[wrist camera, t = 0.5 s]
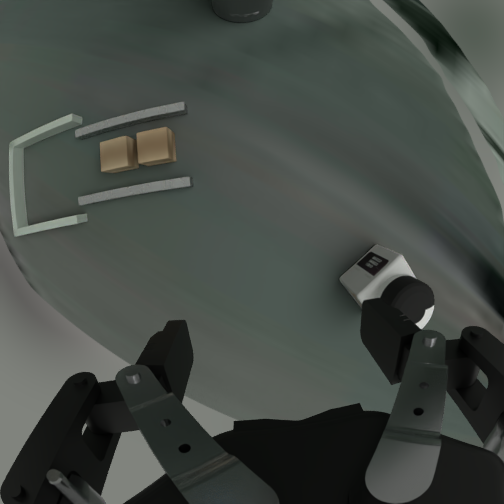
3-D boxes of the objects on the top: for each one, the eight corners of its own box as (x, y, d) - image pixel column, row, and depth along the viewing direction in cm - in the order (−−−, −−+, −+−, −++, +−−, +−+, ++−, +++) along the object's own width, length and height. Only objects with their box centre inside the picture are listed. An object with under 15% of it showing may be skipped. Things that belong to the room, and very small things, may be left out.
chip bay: (20, 144, 33) (9, 142, 30) (82, 117, 33) (72, 113, 30) (25, 234, 36) (14, 236, 33) (87, 221, 36) (77, 223, 33)
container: (337, 278, 39) (374, 314, 26) (376, 242, 38) (426, 264, 25) (364, 313, 40) (403, 355, 27) (400, 279, 39) (449, 310, 26)
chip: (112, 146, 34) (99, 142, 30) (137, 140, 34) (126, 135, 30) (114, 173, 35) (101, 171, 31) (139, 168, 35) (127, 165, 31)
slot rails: (82, 132, 33) (75, 130, 31) (187, 106, 33) (184, 101, 31) (85, 204, 36) (78, 205, 34) (193, 186, 36) (190, 185, 34)
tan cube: (147, 138, 34) (136, 133, 30) (174, 133, 34) (166, 126, 30) (148, 166, 35) (138, 163, 31) (176, 161, 35) (168, 157, 31)
